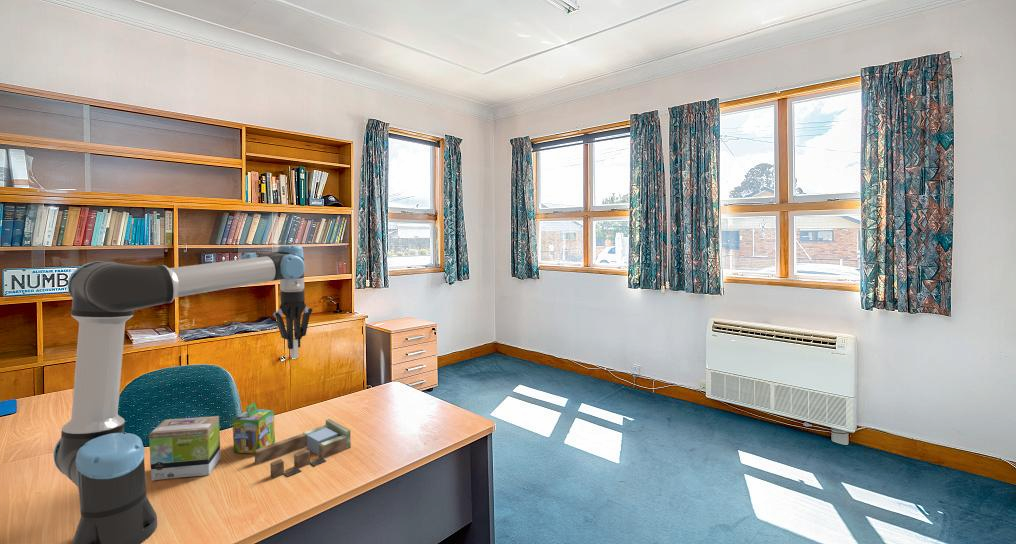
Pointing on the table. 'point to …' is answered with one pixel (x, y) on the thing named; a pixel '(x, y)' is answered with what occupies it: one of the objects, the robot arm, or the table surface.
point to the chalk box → (253, 429)
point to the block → (319, 439)
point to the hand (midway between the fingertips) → (294, 357)
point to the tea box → (184, 447)
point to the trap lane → (304, 456)
